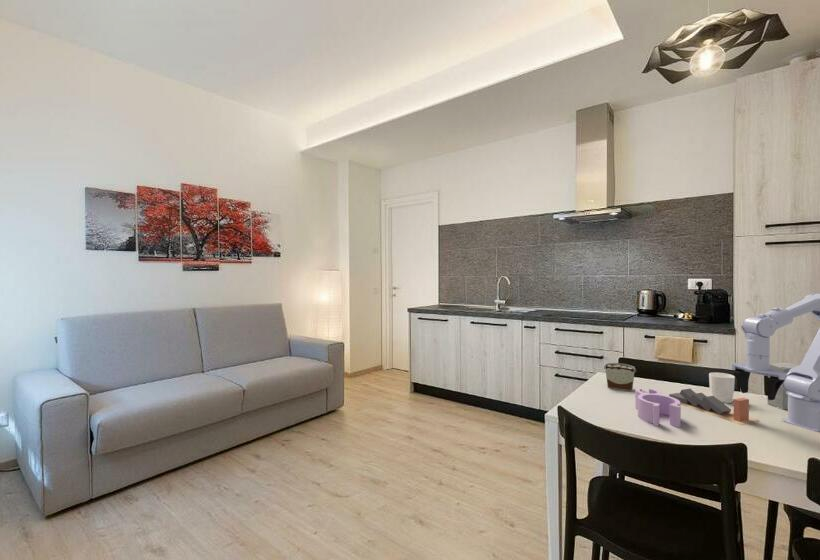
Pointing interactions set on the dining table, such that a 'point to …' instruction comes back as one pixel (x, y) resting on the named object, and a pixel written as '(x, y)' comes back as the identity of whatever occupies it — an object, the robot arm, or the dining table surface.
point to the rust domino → (741, 409)
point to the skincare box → (781, 395)
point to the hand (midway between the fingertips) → (757, 395)
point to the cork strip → (726, 416)
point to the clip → (657, 407)
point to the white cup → (722, 386)
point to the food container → (620, 375)
